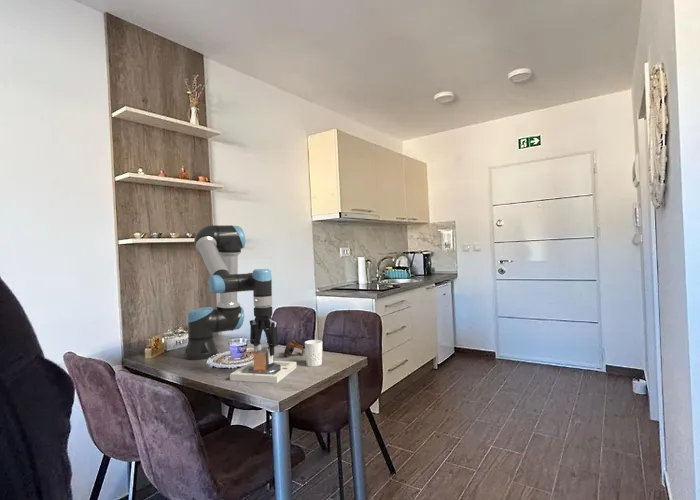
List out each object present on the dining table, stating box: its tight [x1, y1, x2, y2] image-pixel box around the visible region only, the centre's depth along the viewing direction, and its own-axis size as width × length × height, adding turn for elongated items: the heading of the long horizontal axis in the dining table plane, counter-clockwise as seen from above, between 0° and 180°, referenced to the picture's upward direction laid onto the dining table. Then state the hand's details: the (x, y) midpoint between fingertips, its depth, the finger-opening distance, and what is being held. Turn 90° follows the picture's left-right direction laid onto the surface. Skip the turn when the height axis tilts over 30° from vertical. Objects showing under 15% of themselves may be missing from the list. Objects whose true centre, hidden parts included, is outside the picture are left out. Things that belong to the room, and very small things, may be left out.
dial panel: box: [229, 360, 297, 384], centre depth 162 cm, size 20×20×3 cm
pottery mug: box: [283, 339, 305, 358], centre depth 190 cm, size 12×10×8 cm
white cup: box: [304, 339, 323, 367], centre depth 174 cm, size 8×8×10 cm
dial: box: [248, 347, 281, 375], centre depth 162 cm, size 13×13×9 cm
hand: (264, 362), depth 162 cm, fingers closed on dial, 6 cm apart
